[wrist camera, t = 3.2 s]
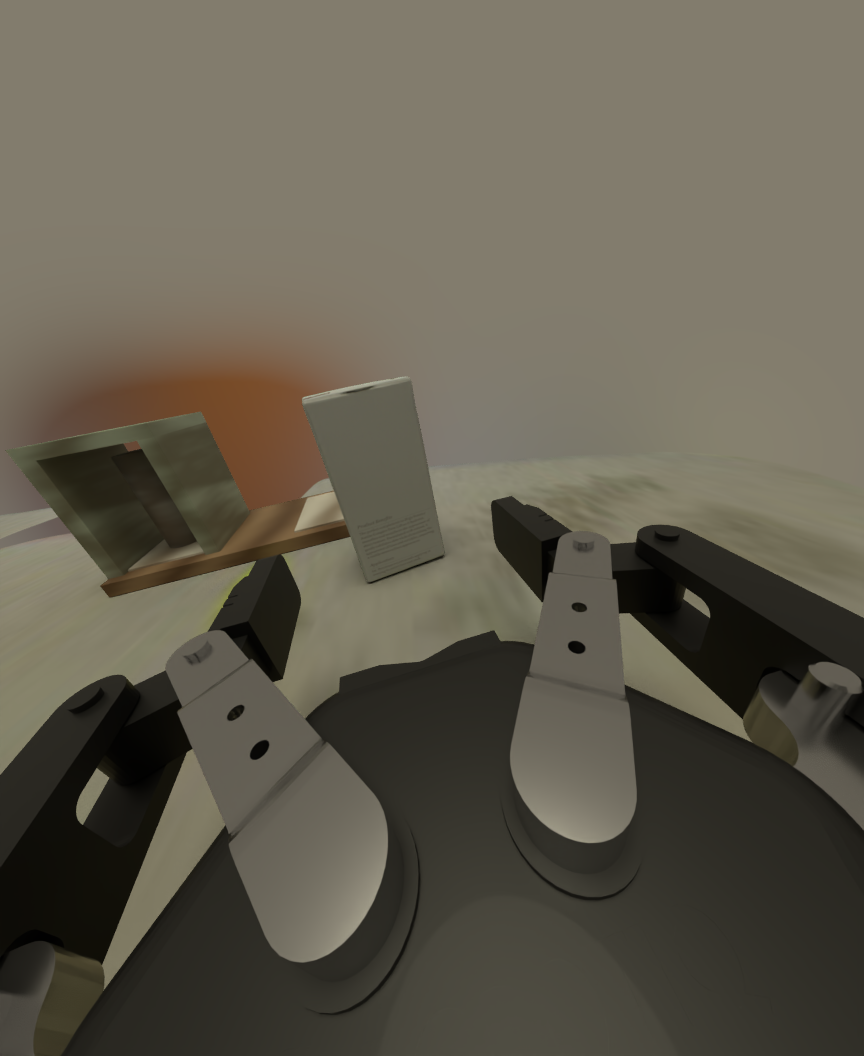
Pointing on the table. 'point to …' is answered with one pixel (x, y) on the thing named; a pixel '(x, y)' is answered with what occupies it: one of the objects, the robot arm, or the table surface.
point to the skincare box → (378, 473)
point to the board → (166, 504)
